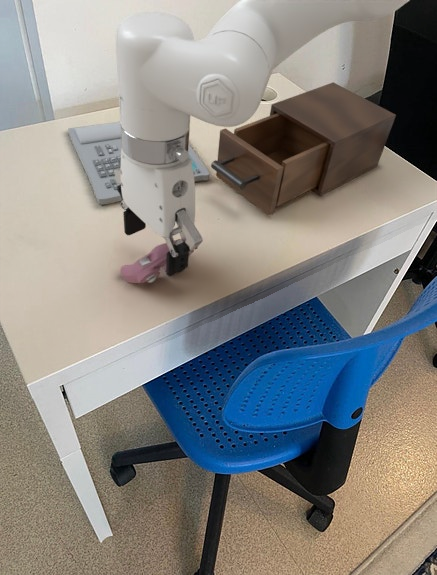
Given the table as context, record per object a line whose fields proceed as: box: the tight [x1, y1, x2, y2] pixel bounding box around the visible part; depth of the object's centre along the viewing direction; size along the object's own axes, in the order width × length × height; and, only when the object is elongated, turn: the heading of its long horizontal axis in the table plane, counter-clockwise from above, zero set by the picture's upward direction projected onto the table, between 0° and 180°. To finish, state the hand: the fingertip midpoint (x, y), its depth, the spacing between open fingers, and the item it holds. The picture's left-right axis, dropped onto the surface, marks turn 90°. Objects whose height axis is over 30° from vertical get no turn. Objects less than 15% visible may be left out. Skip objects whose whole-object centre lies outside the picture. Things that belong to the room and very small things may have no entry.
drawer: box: [210, 113, 331, 217], centre depth 83 cm, size 20×13×9 cm
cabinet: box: [269, 82, 397, 197], centre depth 90 cm, size 17×15×11 cm
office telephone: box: [67, 121, 210, 206], centre depth 89 cm, size 23×3×20 cm
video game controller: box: [119, 238, 195, 284], centre depth 69 cm, size 10×5×7 cm, turn 133°
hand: (155, 250), depth 68 cm, fingers open, 9 cm apart
